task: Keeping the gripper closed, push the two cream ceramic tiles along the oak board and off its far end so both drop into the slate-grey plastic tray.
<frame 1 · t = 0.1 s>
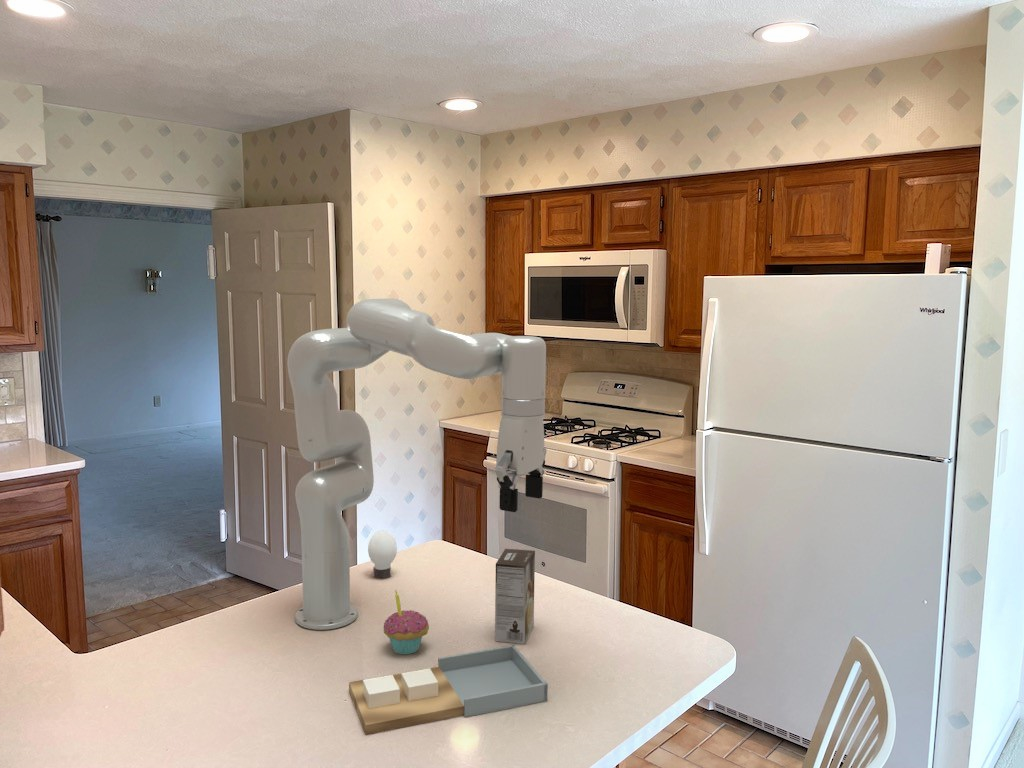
hand: (521, 503, 139), 31 cm above the countertop, tool pointing down, fingers open, 9 cm apart
coffee box: (514, 634, 159), on the countertop
tile a: (381, 698, 130), point 2 cm above the countertop, touching board
tray: (491, 686, 138), on the countertop
board: (404, 702, 132), on the countertop
tile b: (419, 691, 133), point 2 cm above the countertop, touching board
light bulb: (382, 576, 188), on the countertop
cupcake: (406, 649, 152), on the countertop
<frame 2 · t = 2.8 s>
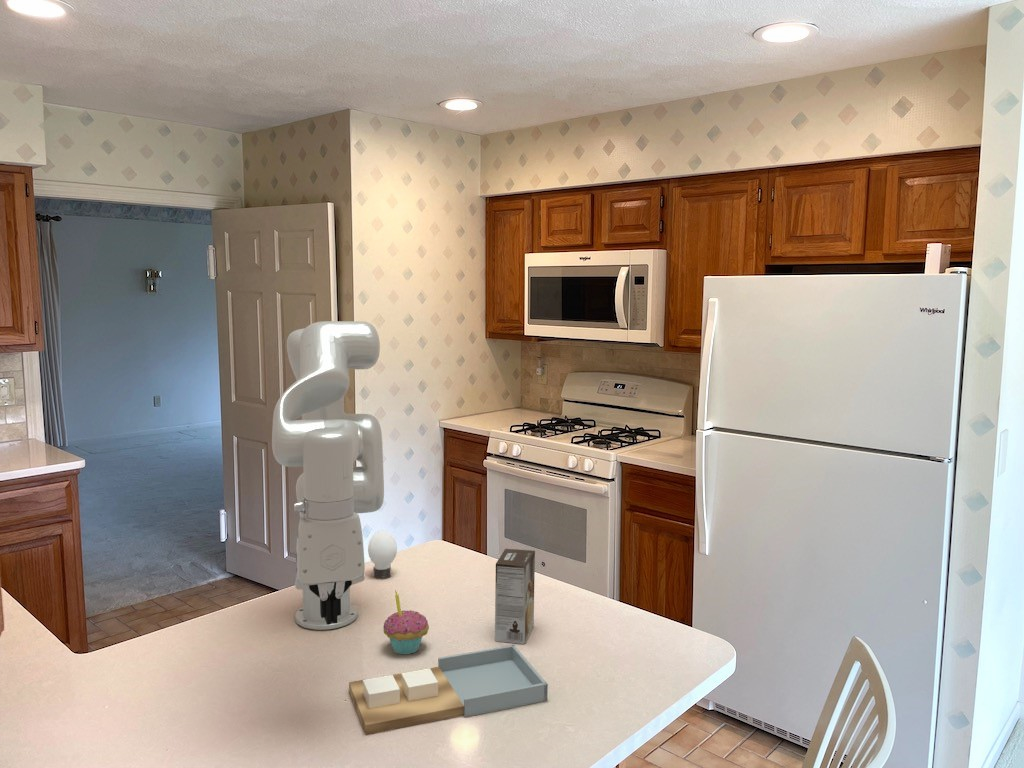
hand: (330, 620, 125), 16 cm above the countertop, tool pointing down, fingers closed
nothing on the countertop moved.
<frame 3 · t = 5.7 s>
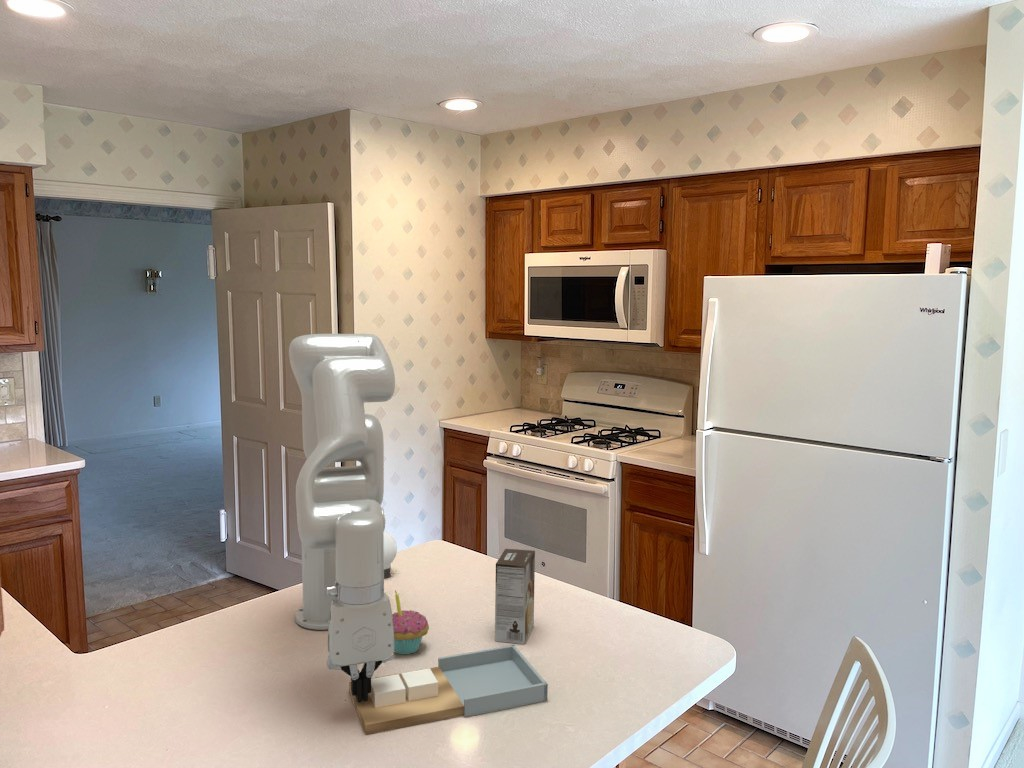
hand: (361, 697, 129), 2 cm above the countertop, tool pointing down, fingers closed
tile a: (387, 697, 131), point 2 cm above the countertop, touching board, gripper
everything else where it was.
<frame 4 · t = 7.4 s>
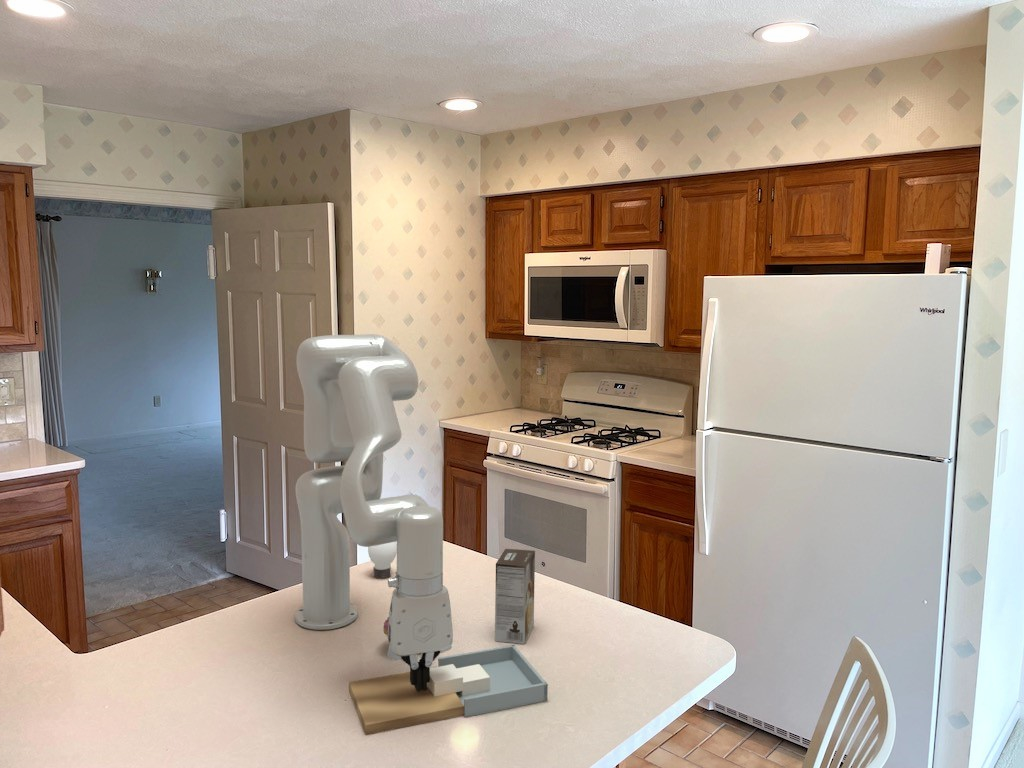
hand: (419, 686, 133), 2 cm above the countertop, tool pointing down, fingers closed
tile a: (443, 686, 134), point 2 cm above the countertop, touching board, gripper, tile b
tile b: (470, 686, 137), point 1 cm above the countertop, touching tile a
everything else where it was.
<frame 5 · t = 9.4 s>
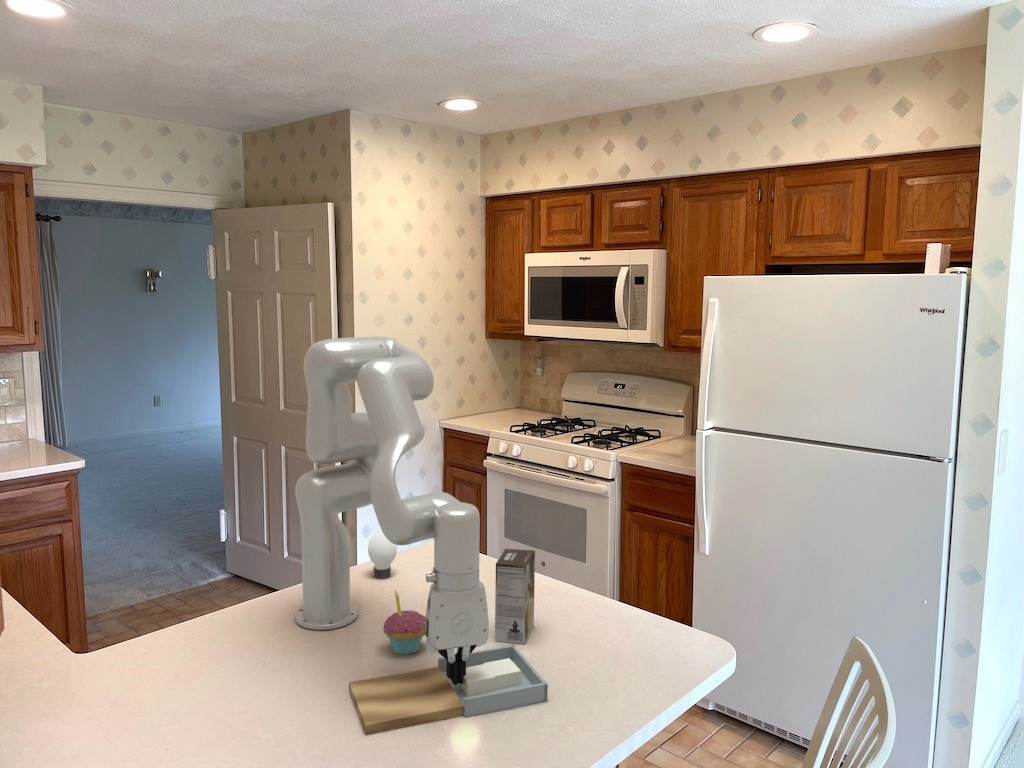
hand: (456, 680, 135), 2 cm above the countertop, tool pointing down, fingers closed
tile a: (476, 686, 137), point 1 cm above the countertop, touching gripper, tile b, tray
tile b: (501, 679, 139), resting on tray, touching tile a
everything else where it was.
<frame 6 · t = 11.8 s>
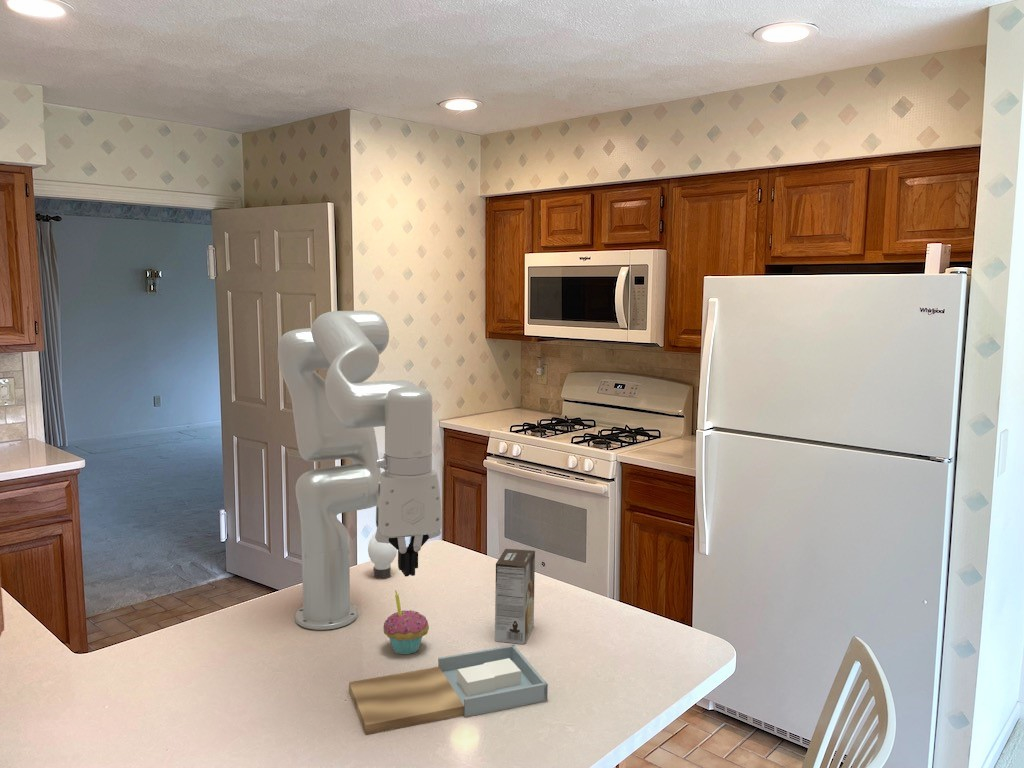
hand: (408, 572, 130), 22 cm above the countertop, tool pointing down, fingers closed
tile a: (475, 686, 137), resting on tray
tile b: (501, 679, 139), resting on tray
everything else where it was.
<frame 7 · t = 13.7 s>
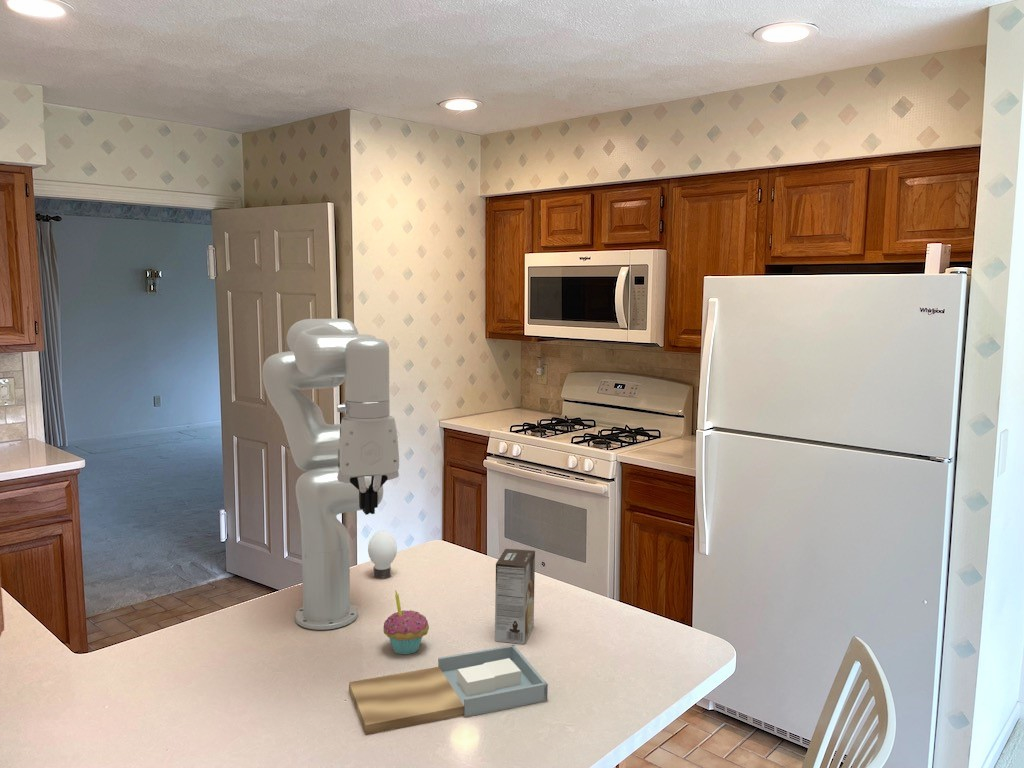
hand: (368, 512, 140), 29 cm above the countertop, tool pointing down, fingers closed
nothing on the countertop moved.
at the end: tile a inside the target area on the tray (2.7 cm from its centre), point 0.5 cm above the tray's base; tile b inside the target area on the tray (2.4 cm from its centre), point 0.5 cm above the tray's base; tile a touching tray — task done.
